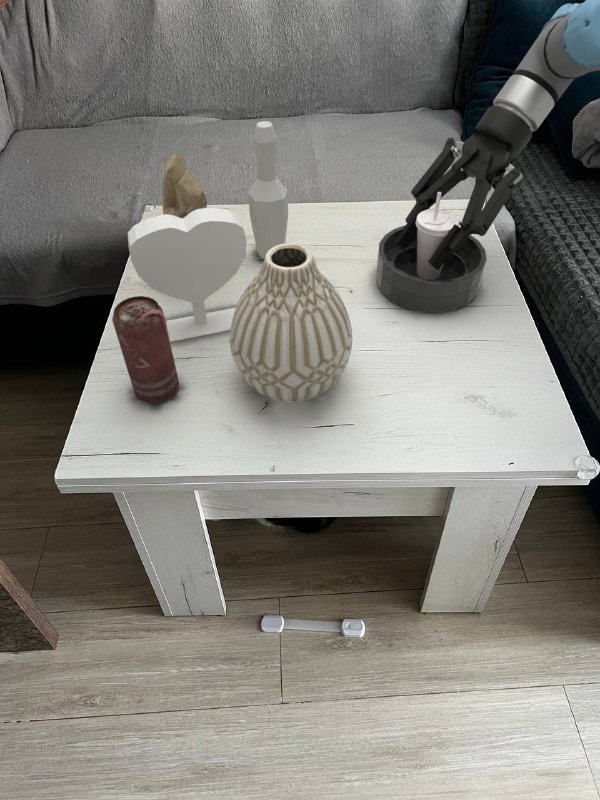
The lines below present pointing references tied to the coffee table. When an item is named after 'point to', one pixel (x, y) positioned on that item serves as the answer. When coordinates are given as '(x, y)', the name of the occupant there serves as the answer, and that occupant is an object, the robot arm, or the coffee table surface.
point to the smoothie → (432, 237)
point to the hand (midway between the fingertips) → (416, 255)
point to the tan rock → (181, 189)
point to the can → (146, 349)
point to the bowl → (427, 294)
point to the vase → (290, 328)
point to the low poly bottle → (267, 194)
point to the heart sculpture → (190, 263)
